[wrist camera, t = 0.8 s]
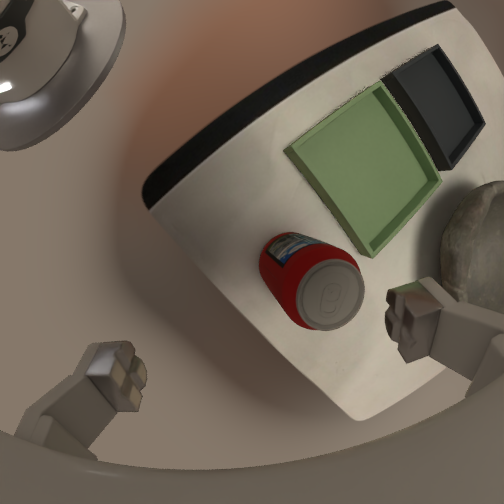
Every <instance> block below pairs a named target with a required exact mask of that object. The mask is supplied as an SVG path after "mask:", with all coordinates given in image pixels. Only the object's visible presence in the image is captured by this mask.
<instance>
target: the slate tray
mask: <svg viewBox="0 0 504 504" xmlns="http://www.w3.org/2000/svg"><path fill="white" fill-rule="evenodd" d="M381 80H382V81H383V83H384V84H385V85H386V87H387V88H388V89H389V91H390V92H391V94H392V95H393V96H394V98H395V99H396V101H397V102H398V103H399V105H400V106H401V108H402V109H403V111H404V112H405V114H406V115H407V117H408V118H409V120H410V121H411V123H412V125H413V126H414V128H415V129H416V131H417V133H418V134H419V136H420V138H421V139H422V141H423V143H424V145H425V146H426V148H427V150H428V152H429V154H430V155H431V157H432V159H433V161H434V163H435V165H436V167H437V169H438V171H445V170H452V169H453V168H454V167H455V165H456V164H457V163H458V162H459V160H460V159H461V158H462V156H463V155H464V154H465V152H466V151H467V150H468V148H469V147H470V146H471V144H472V143H473V141H474V140H475V139H476V137H477V136H478V135H479V133H480V132H481V130H482V129H483V127H484V126H485V124H486V123H485V121H484V119H483V117H482V115H481V113H480V111H479V109H478V107H477V105H476V103H475V101H474V99H473V98H472V96H471V94H470V92H469V91H468V89H467V87H466V85H465V84H464V82H463V80H462V79H461V77H460V75H459V74H458V72H457V71H456V69H455V68H454V66H453V65H452V63H451V62H450V60H449V59H448V57H447V56H446V54H445V53H444V51H443V50H442V49H441V47H440V46H439V45H438V44H437V45H435V46H433V47H431V48H429V49H427V50H426V51H424V52H422V53H421V54H419V55H418V56H416V57H414V58H413V59H411V60H410V61H408V62H406V63H405V64H403V65H402V66H400V67H399V68H397V69H395V70H394V71H392V72H391V73H389V74H388V75H386V76H385V77H383V78H382V79H381Z"/></svg>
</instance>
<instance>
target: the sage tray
mask: <svg viewBox="0 0 504 504" xmlns="http://www.w3.org/2000/svg"><path fill="white" fill-rule="evenodd" d="M284 152H285V153H286V154H287V155H288V157H289V158H290V159H291V160H292V162H293V163H294V164H295V165H296V167H297V168H298V169H299V170H300V172H301V173H302V174H303V175H304V177H305V178H306V179H307V181H308V182H309V183H310V184H311V186H312V187H313V188H314V190H315V191H316V192H317V194H318V195H319V196H320V198H321V199H322V200H323V202H324V203H325V204H326V206H327V207H328V208H329V210H330V211H331V212H332V214H333V215H334V217H335V218H336V219H337V221H338V222H339V224H340V225H341V226H342V228H343V229H344V231H345V232H346V233H347V235H348V236H349V238H350V239H351V241H352V242H353V244H354V245H355V247H356V248H357V250H358V251H359V253H360V254H361V255H364V256H367V257H369V258H372V259H373V258H374V257H375V256H376V255H377V254H378V253H379V252H380V251H381V250H382V249H383V248H384V247H385V246H386V245H387V244H388V243H389V242H390V240H391V239H392V238H393V237H394V236H395V235H396V234H397V233H398V232H399V231H400V230H401V229H402V228H403V227H404V225H405V224H406V223H407V222H408V221H409V220H410V219H411V218H412V217H413V216H414V214H415V213H416V212H417V211H418V210H419V209H420V208H421V206H422V205H423V204H424V203H425V202H426V201H427V200H428V198H429V197H430V196H431V195H432V194H433V192H434V191H435V190H436V189H437V188H438V187H439V185H440V184H441V183H442V182H443V181H442V179H441V177H440V175H439V173H438V171H437V169H436V167H435V165H434V163H433V162H432V160H431V158H430V156H429V154H428V152H427V151H426V149H425V147H424V145H423V144H422V142H421V140H420V138H419V137H418V135H417V133H416V132H415V130H414V129H413V127H412V125H411V124H410V122H409V121H408V119H407V118H406V116H405V114H404V113H403V111H402V110H401V109H400V107H399V106H398V104H397V103H396V101H395V100H394V98H393V97H392V96H391V94H390V93H389V92H388V90H387V89H386V88H385V86H384V85H383V83H382V82H381V81H378V82H377V83H375V84H373V85H372V86H370V87H369V88H367V89H366V90H364V91H363V92H361V93H360V94H358V95H357V96H356V97H354V98H353V99H351V100H350V101H348V102H347V103H346V104H344V105H343V106H341V107H340V108H339V109H337V110H336V111H335V112H333V113H332V114H330V115H329V116H328V117H326V118H325V119H324V120H322V121H321V122H320V123H318V124H317V125H316V126H314V127H313V128H312V129H310V130H309V131H308V132H306V133H305V134H304V135H302V136H301V137H300V138H299V139H297V140H296V141H295V142H293V143H292V144H291V145H290V146H288V147H287V148H286V149H284Z"/></svg>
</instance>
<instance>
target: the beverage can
mask: <svg viewBox="0 0 504 504" xmlns="http://www.w3.org/2000/svg"><path fill="white" fill-rule="evenodd" d="M259 270H260V274H261V277H262V279H263V280H264V282H265V284H266V285H267V287H268V288H269V290H270V291H271V293H272V294H273V295H274V297H275V298H276V300H277V301H278V303H279V304H280V305H281V307H282V308H283V309H284V311H285V312H286V314H287V315H288V316H289V317H290V319H291V320H292V321H293V322H295V323H296V324H297V325H299V326H301V327H303V328H306V329H311V330H321V331H330V330H334V329H338V328H340V327H342V326H344V325H345V324H347V323H348V322H349V321H350V320H352V319H353V317H354V316H355V315H356V314H357V312H358V311H359V309H360V307H361V305H362V302H363V299H364V293H365V286H364V281H363V278H362V275H361V272H360V269H359V267H358V265H357V263H356V261H355V260H354V259H353V257H352V256H351V255H350V254H348V253H347V252H346V251H344V250H342V249H340V248H337V247H335V246H332V245H330V244H327V243H325V242H322V241H319V240H317V239H314V238H311V237H308V236H305V235H302V234H299V233H294V232H288V233H283V234H280V235H277V236H276V237H274V238H272V239H271V240H270V241H269V242H268V243H267V244H266V245H265V247H264V248H263V250H262V253H261V255H260V259H259Z"/></svg>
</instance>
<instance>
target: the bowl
mask: <svg viewBox="0 0 504 504" xmlns="http://www.w3.org/2000/svg"><path fill="white" fill-rule="evenodd" d="M440 254H441V256H440V262H441V278H442V287H443V289H444V290H445V291H446V292H447V293H448V294H450V295H451V296H452V297H453V298H454V299H455V300H456V301H457V302H460V301H463V302H466V303H469V304H472V305H476V306H479V307H482V308H485V309H488V310H492V311H495V312H498V313H501V314H504V181H494V182H490V183H487V184H484V185H482V186H480V187H477V188H475V189H474V190H472V191H471V192H470V193H469V194H468V195H467V196H466V197H465V198H464V199H463V200H462V202H461V203H460V204H459V206H458V207H457V209H456V210H455V212H454V214H453V215H452V217H451V219H450V221H449V223H448V225H447V226H446V228H445V230H444V233H443V236H442V240H441V248H440Z"/></svg>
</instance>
